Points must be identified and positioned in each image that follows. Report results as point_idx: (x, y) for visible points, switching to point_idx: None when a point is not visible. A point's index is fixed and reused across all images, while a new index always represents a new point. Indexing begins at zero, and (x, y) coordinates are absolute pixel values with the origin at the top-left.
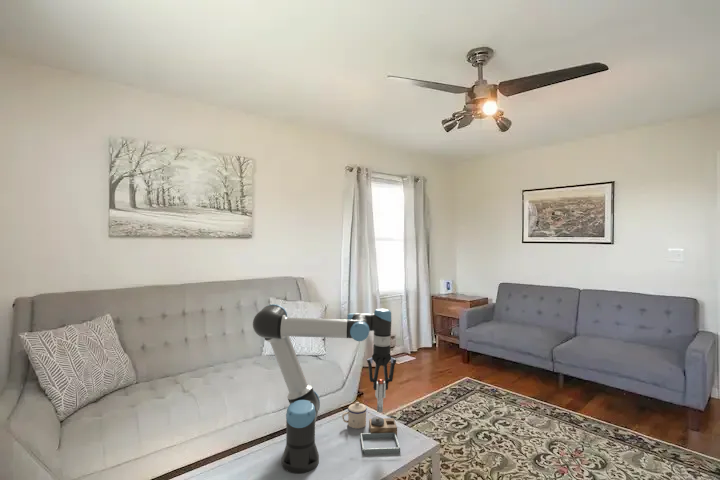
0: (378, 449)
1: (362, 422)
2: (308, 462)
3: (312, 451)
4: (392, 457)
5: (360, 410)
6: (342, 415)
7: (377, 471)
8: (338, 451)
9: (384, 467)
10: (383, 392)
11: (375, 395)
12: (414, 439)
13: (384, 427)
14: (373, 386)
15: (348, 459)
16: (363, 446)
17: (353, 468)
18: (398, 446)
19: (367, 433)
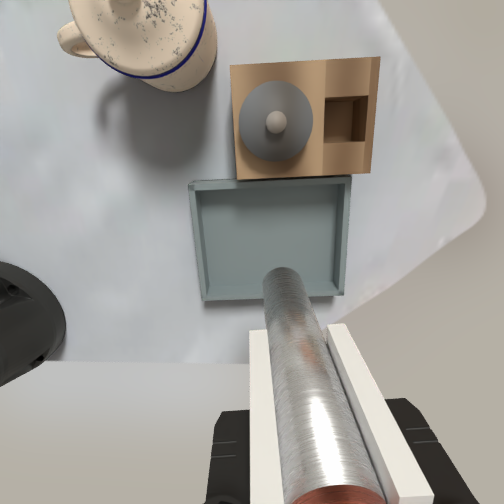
0: (260, 297)
1: (193, 76)
2: (29, 369)
3: (16, 372)
4: None
5: (161, 59)
6: (58, 40)
7: None
8: (117, 258)
9: None
10: None
11: (250, 338)
12: (425, 178)
13: (305, 171)
14: (213, 458)
15: (158, 302)
16: (203, 283)
17: (178, 343)
18: (339, 285)
19: (220, 185)
